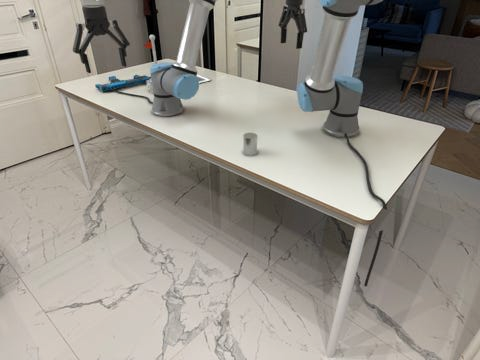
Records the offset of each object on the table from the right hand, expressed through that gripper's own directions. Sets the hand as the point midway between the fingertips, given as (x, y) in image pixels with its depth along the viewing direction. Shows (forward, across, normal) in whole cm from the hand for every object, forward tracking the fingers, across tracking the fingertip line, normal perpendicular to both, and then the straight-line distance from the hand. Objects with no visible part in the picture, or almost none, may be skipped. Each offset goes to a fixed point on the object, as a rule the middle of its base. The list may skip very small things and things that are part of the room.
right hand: (290, 45), depth 161 cm
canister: (+29, +38, -42) cm, 64 cm away
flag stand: (+29, -52, -54) cm, 80 cm away
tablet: (+29, -68, -34) cm, 81 cm away
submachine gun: (+29, -74, -70) cm, 106 cm away
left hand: (0, +4, -85) cm, 85 cm away
